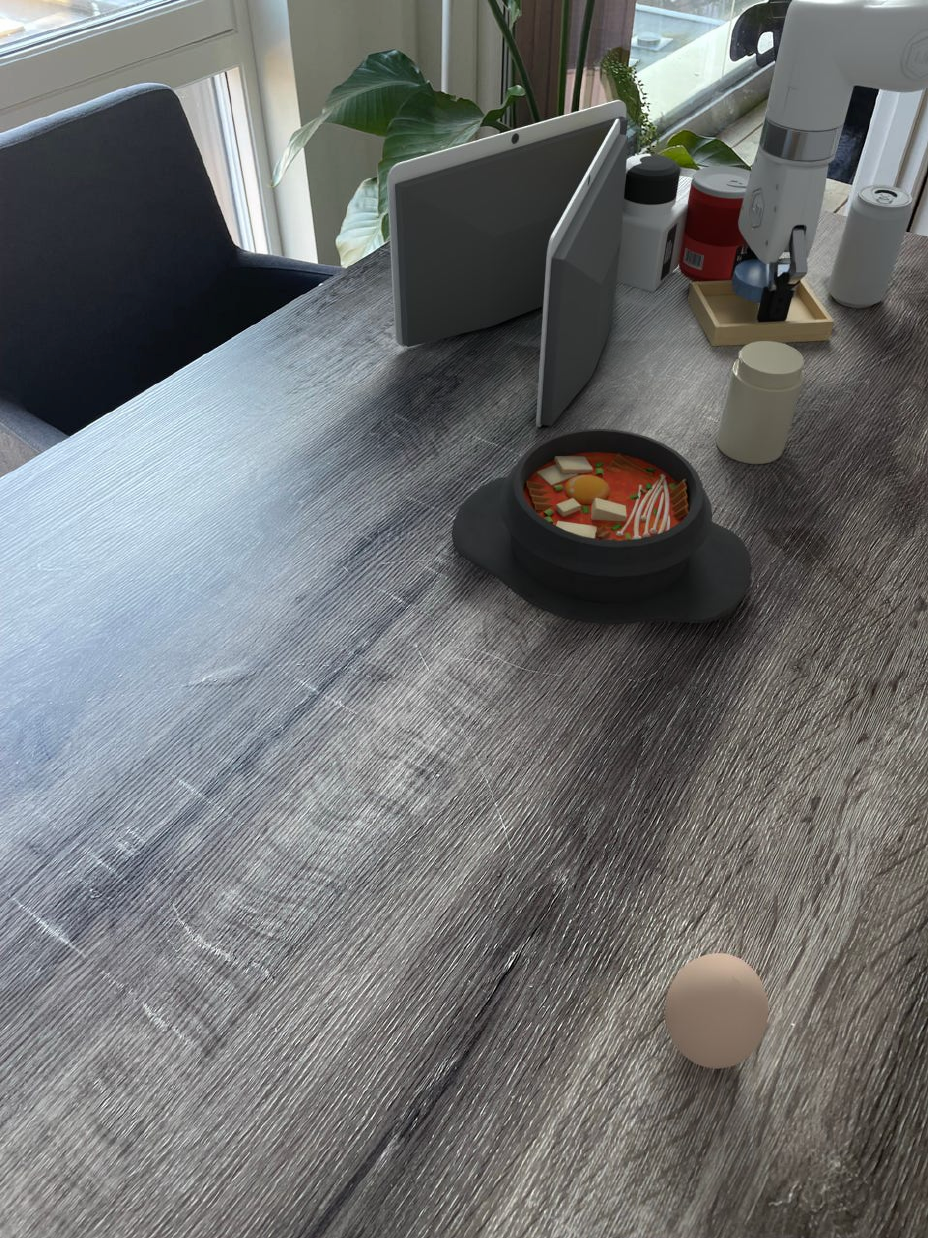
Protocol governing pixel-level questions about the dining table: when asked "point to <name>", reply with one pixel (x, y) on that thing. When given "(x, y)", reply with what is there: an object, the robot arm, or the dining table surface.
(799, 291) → the tray
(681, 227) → the container
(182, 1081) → the dining table surface
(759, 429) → the jar
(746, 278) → the lid
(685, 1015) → the egg
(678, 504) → the casserole
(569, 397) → the grey hinged panel
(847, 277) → the beverage can
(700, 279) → the canned food
